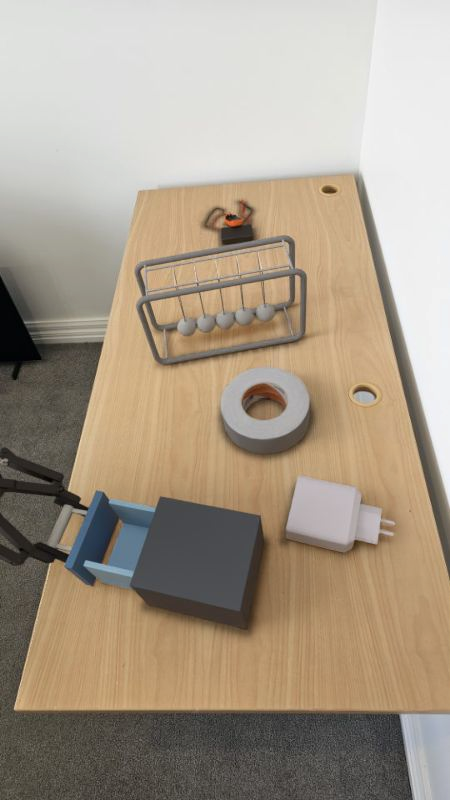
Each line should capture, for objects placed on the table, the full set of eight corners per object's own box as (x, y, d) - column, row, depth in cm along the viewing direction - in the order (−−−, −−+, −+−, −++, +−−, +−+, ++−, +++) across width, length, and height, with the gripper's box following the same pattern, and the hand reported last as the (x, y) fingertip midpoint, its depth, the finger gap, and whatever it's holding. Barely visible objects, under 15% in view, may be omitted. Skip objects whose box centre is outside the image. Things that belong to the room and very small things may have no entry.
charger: (388, 565, 72) (285, 540, 76) (394, 507, 77) (298, 486, 80) (393, 554, 68) (285, 528, 72) (400, 493, 73) (298, 472, 77)
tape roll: (207, 409, 91) (203, 393, 87) (275, 369, 95) (274, 352, 91) (255, 470, 83) (253, 456, 79) (327, 424, 87) (329, 408, 82)
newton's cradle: (294, 304, 104) (294, 231, 90) (306, 340, 98) (307, 268, 84) (153, 329, 105) (131, 261, 91) (156, 367, 99) (132, 300, 84)
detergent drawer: (56, 577, 75) (31, 558, 68) (85, 508, 82) (65, 484, 74) (171, 605, 71) (157, 588, 64) (193, 529, 77) (182, 506, 70)
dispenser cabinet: (148, 605, 72) (129, 585, 64) (174, 524, 79) (159, 495, 71) (246, 630, 69) (239, 611, 60) (264, 542, 76) (260, 515, 67)
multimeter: (207, 202, 130) (205, 190, 127) (253, 198, 128) (252, 186, 125) (203, 246, 119) (200, 234, 116) (253, 243, 118) (252, 230, 115)
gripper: (-35, 417, 74) (100, 485, 83) (-116, 544, 63) (49, 605, 72) (-23, 401, 68) (120, 476, 78) (-109, 538, 58) (68, 605, 67)
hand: (85, 538), depth 75 cm, fingers closed on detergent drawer, 6 cm apart
